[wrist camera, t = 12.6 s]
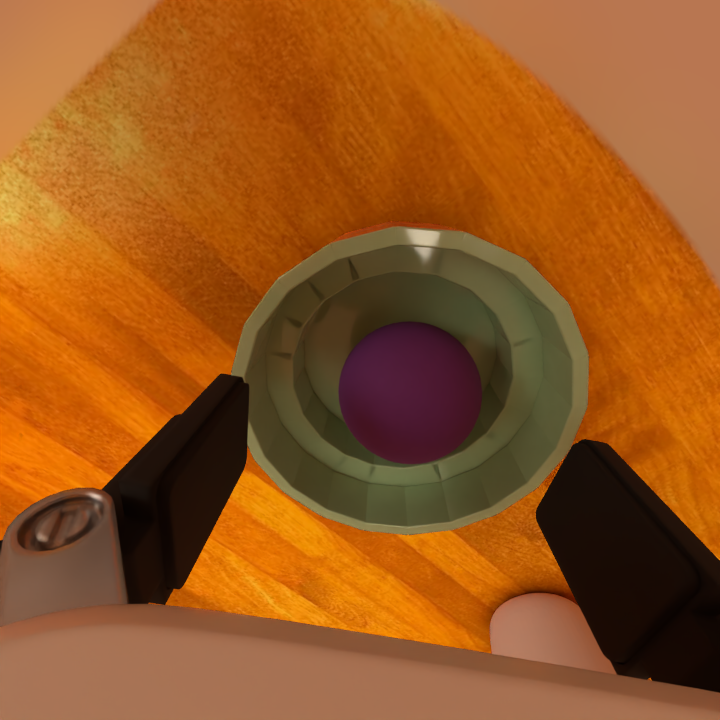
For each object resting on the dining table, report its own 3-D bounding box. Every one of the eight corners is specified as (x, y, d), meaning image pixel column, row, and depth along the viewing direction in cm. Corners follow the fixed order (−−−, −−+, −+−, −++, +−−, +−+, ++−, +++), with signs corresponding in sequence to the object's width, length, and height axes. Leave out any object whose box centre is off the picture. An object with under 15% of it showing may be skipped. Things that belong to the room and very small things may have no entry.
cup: (650, 619, 23) (773, 808, 16) (567, 668, 26) (637, 845, 19) (527, 561, 21) (601, 742, 14) (453, 621, 25) (482, 794, 17)
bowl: (228, 365, 17) (172, 422, 12) (388, 151, 13) (391, 119, 8) (403, 488, 20) (409, 573, 15) (582, 346, 15) (667, 403, 11)
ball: (313, 370, 16) (304, 450, 11) (392, 277, 14) (426, 321, 9) (399, 427, 17) (425, 518, 12) (477, 351, 16) (543, 421, 11)
